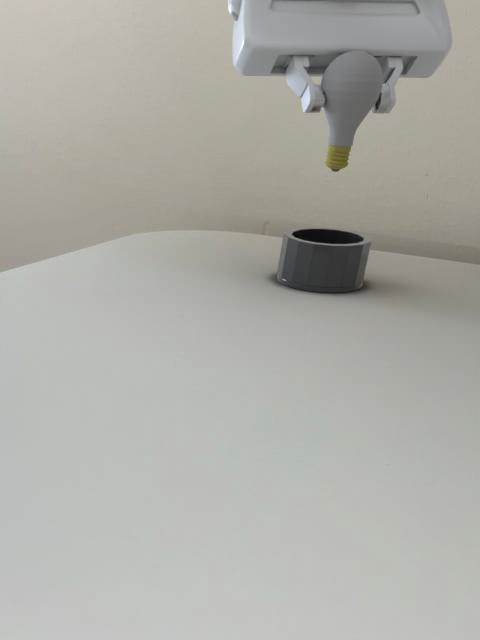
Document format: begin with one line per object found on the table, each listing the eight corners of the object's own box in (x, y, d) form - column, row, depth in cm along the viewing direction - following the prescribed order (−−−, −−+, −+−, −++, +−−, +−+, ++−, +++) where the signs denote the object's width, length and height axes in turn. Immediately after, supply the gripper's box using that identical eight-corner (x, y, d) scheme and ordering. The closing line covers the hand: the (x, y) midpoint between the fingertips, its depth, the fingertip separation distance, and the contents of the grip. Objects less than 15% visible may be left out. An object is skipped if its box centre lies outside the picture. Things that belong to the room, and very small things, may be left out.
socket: (346, 271, 107) (355, 227, 105) (374, 293, 100) (384, 246, 97) (267, 271, 107) (274, 226, 104) (289, 292, 100) (298, 245, 97)
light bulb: (294, 167, 96) (314, 48, 91) (340, 165, 98) (362, 48, 93) (329, 177, 92) (352, 52, 87) (376, 174, 94) (402, 52, 88)
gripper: (235, -51, 90) (252, 82, 88) (449, -46, 92) (471, 84, 90) (215, 5, 96) (230, 131, 94) (415, 9, 98) (435, 132, 96)
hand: (350, 108), depth 92 cm, fingers closed on light bulb, 5 cm apart
